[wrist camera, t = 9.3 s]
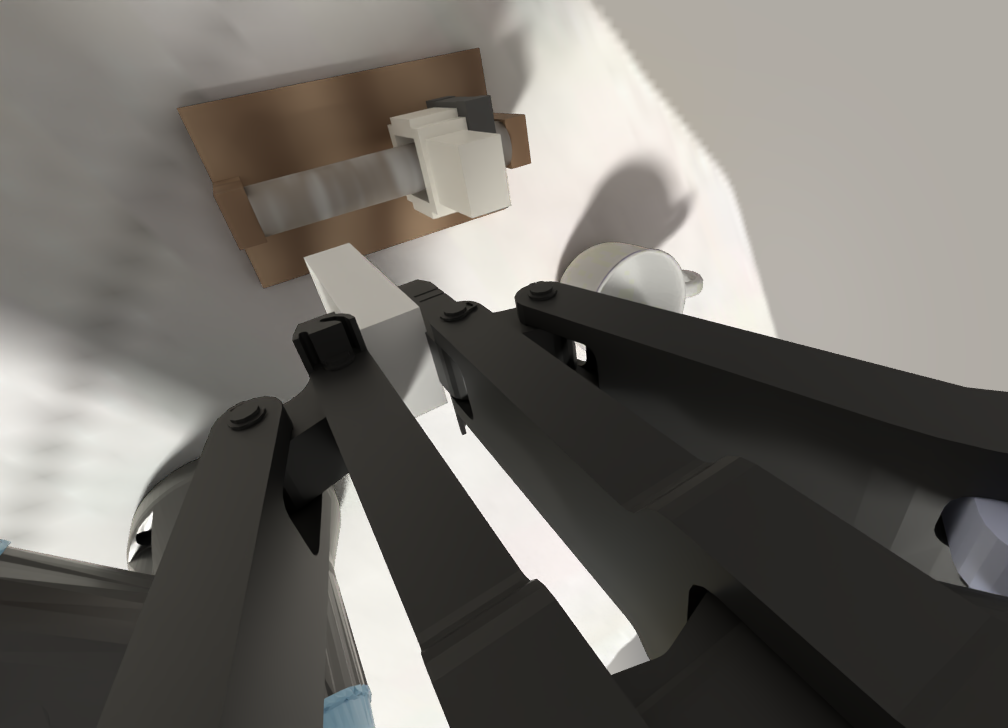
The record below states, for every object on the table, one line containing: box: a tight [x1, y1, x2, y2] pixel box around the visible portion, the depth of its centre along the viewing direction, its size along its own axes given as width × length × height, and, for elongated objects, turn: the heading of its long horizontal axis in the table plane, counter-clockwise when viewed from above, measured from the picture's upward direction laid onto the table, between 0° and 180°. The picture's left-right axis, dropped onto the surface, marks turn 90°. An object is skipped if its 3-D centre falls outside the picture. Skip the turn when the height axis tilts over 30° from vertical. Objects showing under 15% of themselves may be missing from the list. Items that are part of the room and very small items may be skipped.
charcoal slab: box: [426, 95, 508, 215], centre depth 31 cm, size 2×6×6 cm, turn 10°
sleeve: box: [387, 107, 511, 219], centre depth 29 cm, size 3×6×10 cm, turn 10°
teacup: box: [560, 242, 703, 351], centre depth 45 cm, size 14×11×8 cm
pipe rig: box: [177, 48, 531, 288], centre depth 31 cm, size 19×11×6 cm, turn 100°
